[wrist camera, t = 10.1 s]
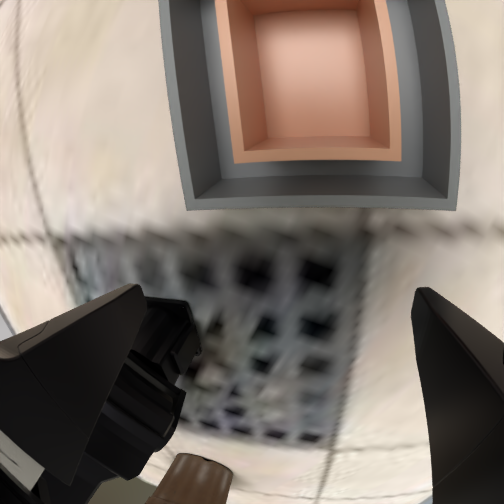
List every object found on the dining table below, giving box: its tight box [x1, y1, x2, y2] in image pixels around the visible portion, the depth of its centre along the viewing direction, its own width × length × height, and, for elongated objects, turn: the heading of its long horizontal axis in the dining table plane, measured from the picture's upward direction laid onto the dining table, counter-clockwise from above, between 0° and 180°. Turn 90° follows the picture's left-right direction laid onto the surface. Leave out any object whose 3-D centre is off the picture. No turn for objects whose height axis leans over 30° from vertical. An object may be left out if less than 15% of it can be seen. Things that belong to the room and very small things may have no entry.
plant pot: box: [145, 454, 233, 504], centre depth 40 cm, size 16×16×16 cm
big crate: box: [158, 0, 461, 211], centre depth 13 cm, size 14×14×5 cm
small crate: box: [215, 0, 401, 164], centre depth 12 cm, size 7×9×6 cm
